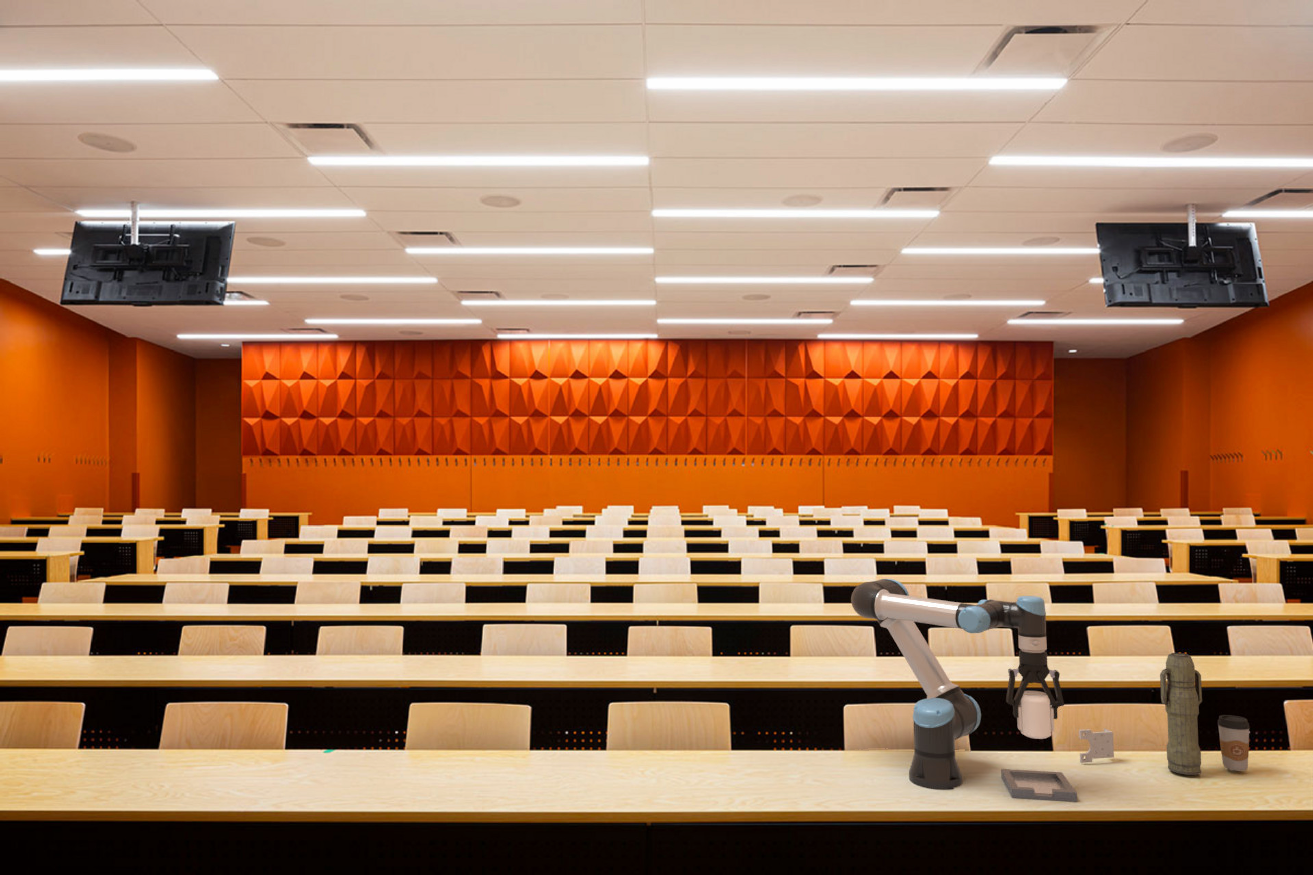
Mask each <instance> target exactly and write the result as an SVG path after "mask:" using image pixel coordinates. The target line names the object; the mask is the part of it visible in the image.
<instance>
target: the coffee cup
mask: <svg viewBox="0 0 1313 875" xmlns="http://www.w3.org/2000/svg"><path fill="white" fill-rule="evenodd" d="M1217 726H1218V733H1219V745H1220V753H1221V758H1222V761H1221V762H1222V765H1223V767H1224V768H1225V769H1227V770H1230V771H1238V772H1244V771H1245V772H1246V771H1247V769H1248V767H1249V756H1250V755H1249V750H1250V747H1249V746H1250V741H1249V740H1250V723H1249V721H1248V719H1247V718H1246V717H1243V716H1239V715H1231V714H1229V715H1228V714H1223V715H1219V716H1218V719H1217Z"/></svg>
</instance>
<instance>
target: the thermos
mask: <svg viewBox="0 0 1313 875" xmlns="http://www.w3.org/2000/svg"><path fill="white" fill-rule="evenodd" d="M1159 680H1160V700H1161V704H1163V705H1165V707H1164V710H1165V712H1166V713H1167V715H1166V716H1167V736H1168V737H1167V738H1168V739H1167V740H1168V741H1167V744H1166V760H1167V769H1168V770H1169V771H1172V772H1173V773H1177V774H1181V775H1187V776H1197V775H1201V773H1202V770H1201V766H1202V751H1201V748H1200V746H1199V729H1198V727H1199V726H1198V716H1199V714H1200V712H1199V711H1200V710H1199V707H1200V704H1201V703H1202V702H1203V690H1202V688H1203V687H1202V675H1201V672H1200V671H1199V670H1196V669H1195V663H1194V661H1193V658H1192V656H1191V655H1189V654H1187V653H1182V652H1172V653H1169V654H1168V656H1167V658H1166V660H1165V668H1164V669H1162V670H1161V672H1160V674H1159Z"/></svg>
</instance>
